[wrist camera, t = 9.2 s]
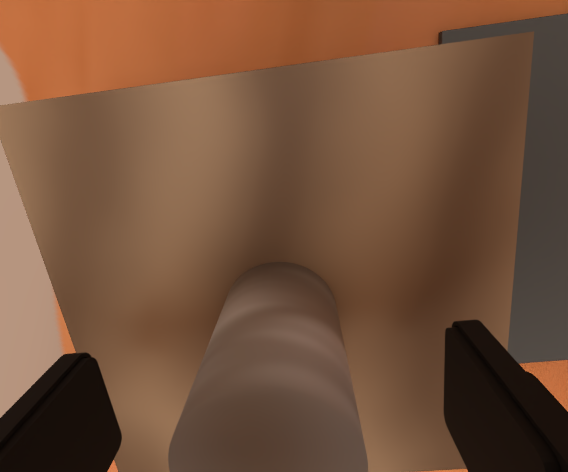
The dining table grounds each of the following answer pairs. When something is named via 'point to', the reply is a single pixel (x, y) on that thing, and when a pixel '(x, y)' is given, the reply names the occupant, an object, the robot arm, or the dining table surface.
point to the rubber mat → (539, 193)
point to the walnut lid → (282, 250)
